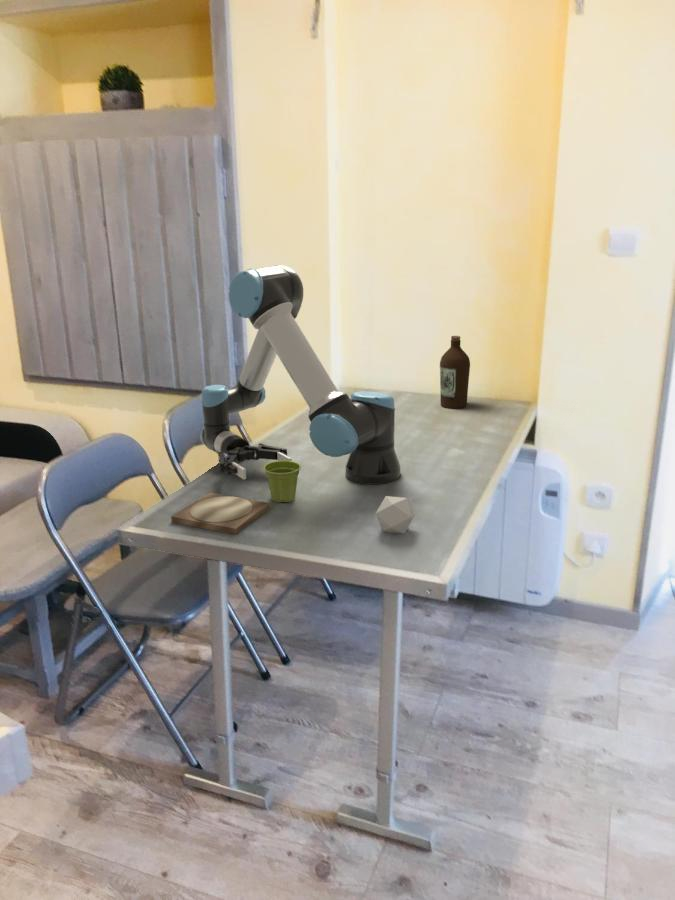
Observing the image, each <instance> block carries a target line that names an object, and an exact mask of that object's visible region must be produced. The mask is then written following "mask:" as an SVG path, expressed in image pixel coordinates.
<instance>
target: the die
mask: <svg viewBox="0 0 675 900" xmlns="http://www.w3.org/2000/svg"><path fill="white" fill-rule="evenodd" d="M375 516H376V518H377V521H378V523H379V525H380V527H381V530H382V532H385V533H395V534H403V535H404V534H406V533H407V530H409V526H410V525H411V523H412V522H413V521H414V518H415V514H414V511H413V509H412V505H411V504H410V501H409V499H408V497H402V496H401V497H400V496H389V495H385V497H384V498H383V499H382V502H381V503H380V505H379V507H378V508H377V510H376V512H375Z"/></svg>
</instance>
